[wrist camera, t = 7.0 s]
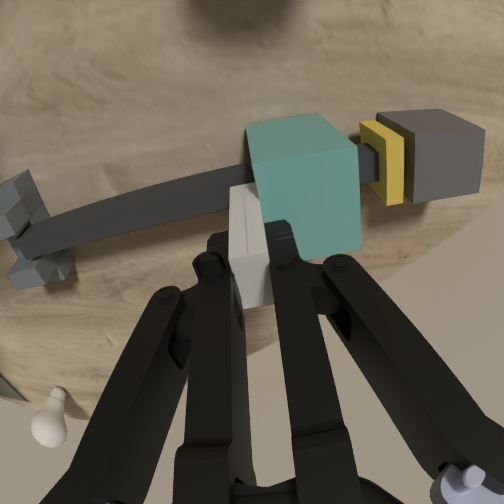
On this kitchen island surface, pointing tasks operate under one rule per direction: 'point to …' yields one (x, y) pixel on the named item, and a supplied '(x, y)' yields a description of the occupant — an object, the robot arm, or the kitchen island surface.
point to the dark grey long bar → (202, 197)
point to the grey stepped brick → (11, 225)
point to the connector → (438, 153)
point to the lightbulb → (51, 420)
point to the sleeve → (308, 182)
